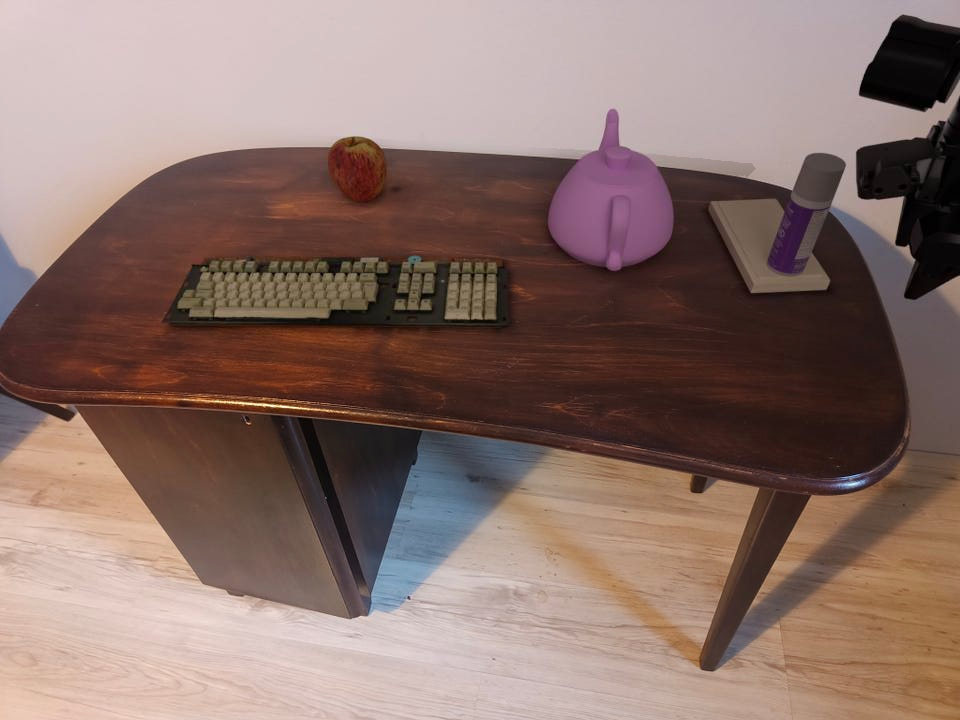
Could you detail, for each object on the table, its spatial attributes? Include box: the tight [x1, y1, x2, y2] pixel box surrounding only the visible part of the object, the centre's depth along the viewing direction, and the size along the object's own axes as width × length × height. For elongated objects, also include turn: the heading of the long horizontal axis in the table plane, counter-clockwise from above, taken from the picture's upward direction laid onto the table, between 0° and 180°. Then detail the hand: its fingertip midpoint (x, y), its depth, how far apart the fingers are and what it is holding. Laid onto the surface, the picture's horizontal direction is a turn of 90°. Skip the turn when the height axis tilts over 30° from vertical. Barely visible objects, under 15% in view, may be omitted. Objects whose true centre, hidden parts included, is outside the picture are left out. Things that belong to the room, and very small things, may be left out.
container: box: [767, 152, 847, 277], centre depth 79 cm, size 5×5×15 cm
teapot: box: [547, 108, 675, 272], centre depth 90 cm, size 25×18×14 cm
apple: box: [327, 135, 388, 203], centre depth 100 cm, size 9×9×10 cm
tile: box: [708, 198, 831, 294], centre depth 90 cm, size 20×10×2 cm, turn 2°
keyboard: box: [161, 255, 511, 329], centre depth 86 cm, size 45×15×2 cm, turn 88°
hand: (904, 270), depth 66 cm, fingers open, 9 cm apart
